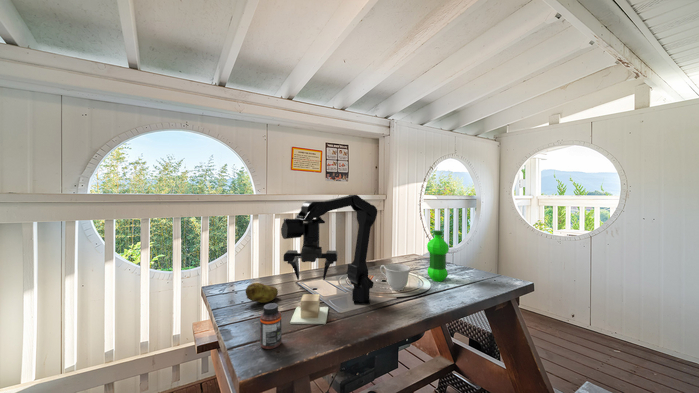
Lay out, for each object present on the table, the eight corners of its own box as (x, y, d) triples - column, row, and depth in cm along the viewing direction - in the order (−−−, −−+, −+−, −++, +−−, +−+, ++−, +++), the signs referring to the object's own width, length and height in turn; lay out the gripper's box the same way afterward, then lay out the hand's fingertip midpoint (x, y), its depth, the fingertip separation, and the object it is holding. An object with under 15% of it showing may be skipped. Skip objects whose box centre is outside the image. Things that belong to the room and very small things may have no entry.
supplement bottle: (262, 338, 81) (262, 301, 81) (282, 338, 82) (283, 301, 81) (257, 350, 75) (257, 310, 75) (279, 349, 76) (279, 309, 75)
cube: (319, 310, 99) (319, 294, 99) (317, 318, 93) (317, 300, 93) (303, 310, 99) (303, 294, 99) (300, 317, 93) (300, 300, 93)
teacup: (386, 281, 134) (386, 261, 134) (414, 287, 125) (414, 266, 125) (373, 288, 124) (373, 266, 124) (403, 295, 115) (404, 272, 115)
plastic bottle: (428, 282, 132) (429, 232, 132) (425, 276, 143) (426, 229, 142) (449, 284, 131) (450, 232, 130) (445, 277, 141) (446, 229, 141)
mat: (328, 308, 102) (328, 306, 102) (325, 324, 90) (325, 322, 90) (296, 308, 102) (296, 306, 102) (290, 323, 90) (290, 322, 90)
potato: (280, 302, 107) (280, 283, 107) (246, 308, 102) (246, 287, 102) (276, 295, 115) (276, 277, 115) (244, 300, 109) (244, 281, 109)
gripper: (279, 240, 88) (279, 287, 88) (336, 240, 88) (336, 287, 88) (287, 234, 99) (287, 276, 99) (337, 235, 99) (337, 277, 100)
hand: (311, 279), depth 96 cm, fingers open, 9 cm apart
